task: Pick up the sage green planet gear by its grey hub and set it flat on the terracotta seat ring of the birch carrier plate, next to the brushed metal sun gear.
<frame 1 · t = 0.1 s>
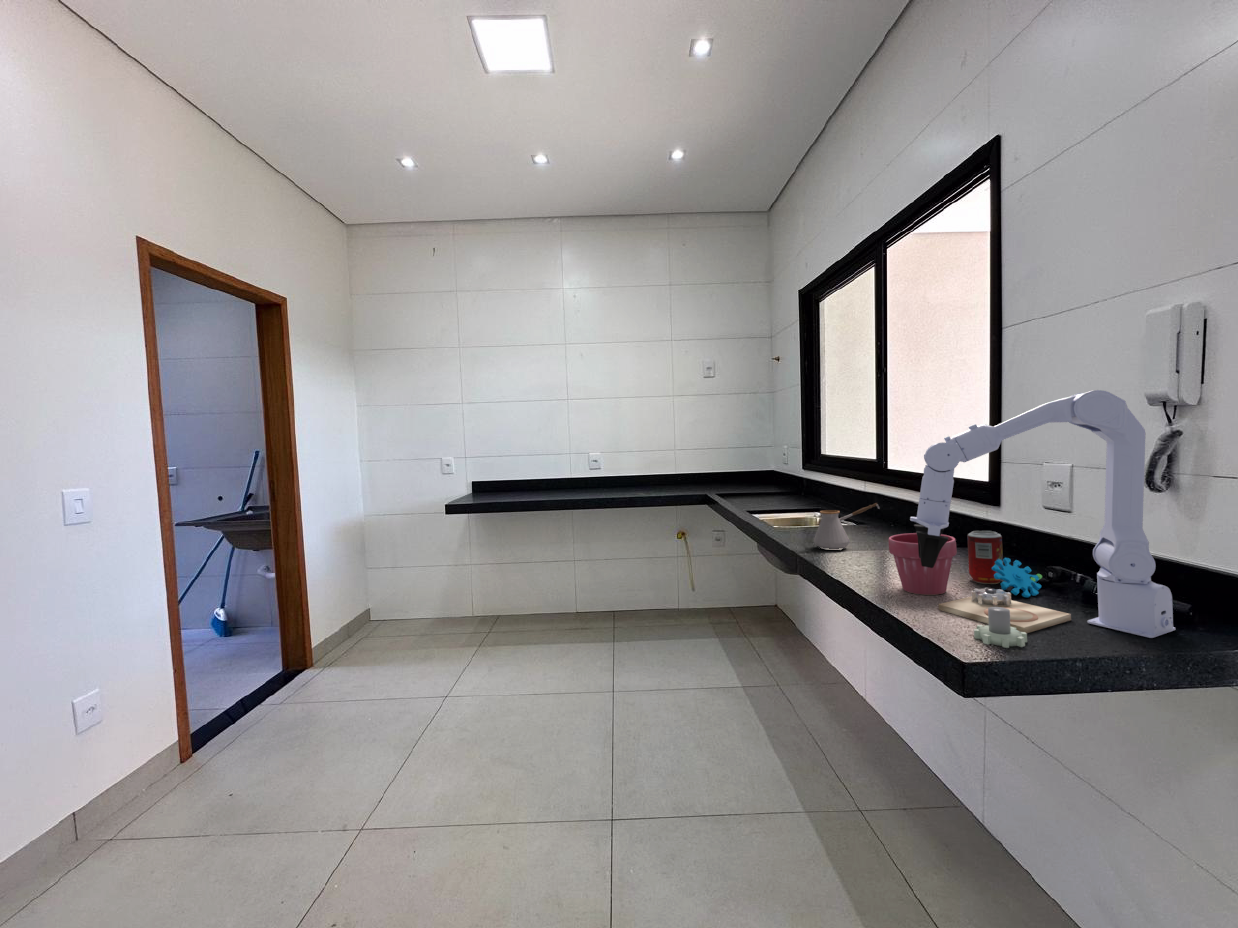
hand: (925, 562, 112), 11 cm above the worktop, tool pointing down, fingers open, 7 cm apart
coffee pot: (847, 549, 178), on the worktop
sun gear: (991, 606, 113), resting on carrier plate
soda can: (986, 581, 131), on the worktop
gear: (1018, 594, 121), on the worktop
planet gear: (1000, 639, 96), on the worktop
carrier plate: (1001, 614, 108), on the worktop
plant pot: (923, 590, 127), on the worktop
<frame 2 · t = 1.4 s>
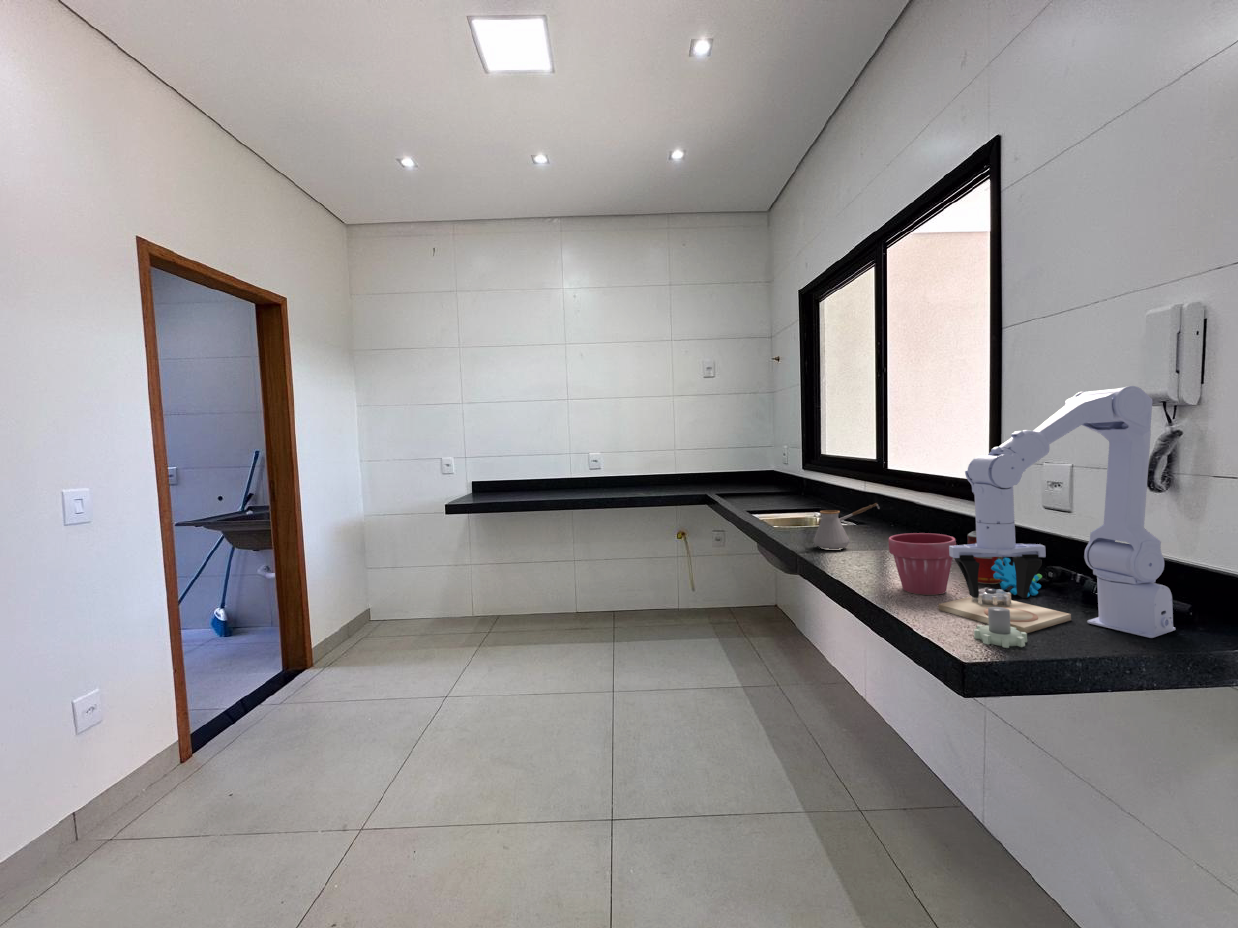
hand: (997, 596, 95), 8 cm above the worktop, tool pointing down, fingers open, 7 cm apart
nothing on the worktop moved.
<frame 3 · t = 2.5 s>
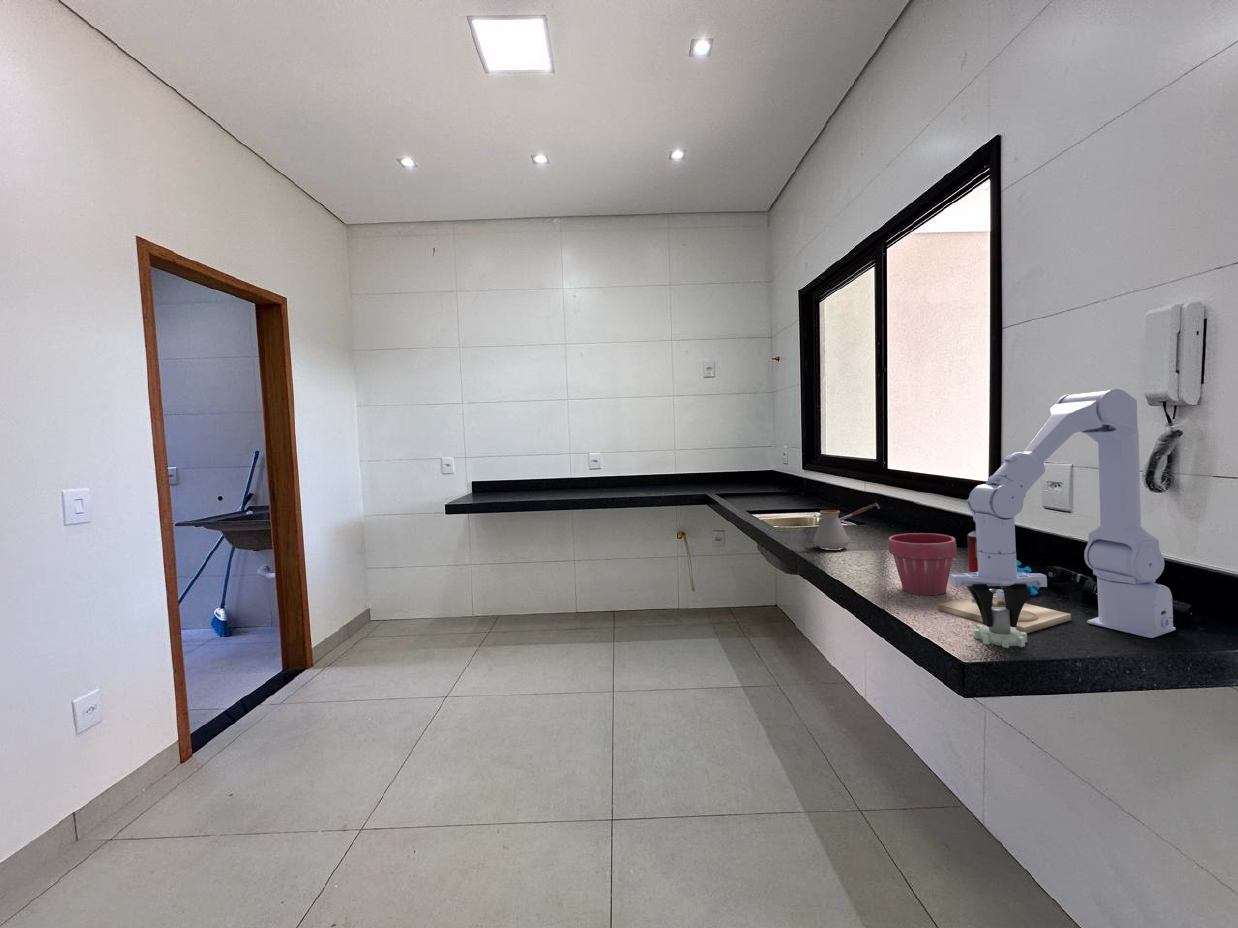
hand: (999, 625, 95), 3 cm above the worktop, tool pointing down, fingers closed on planet gear, 3 cm apart
planet gear: (1000, 639, 96), on the worktop, touching gripper
everything else where it was.
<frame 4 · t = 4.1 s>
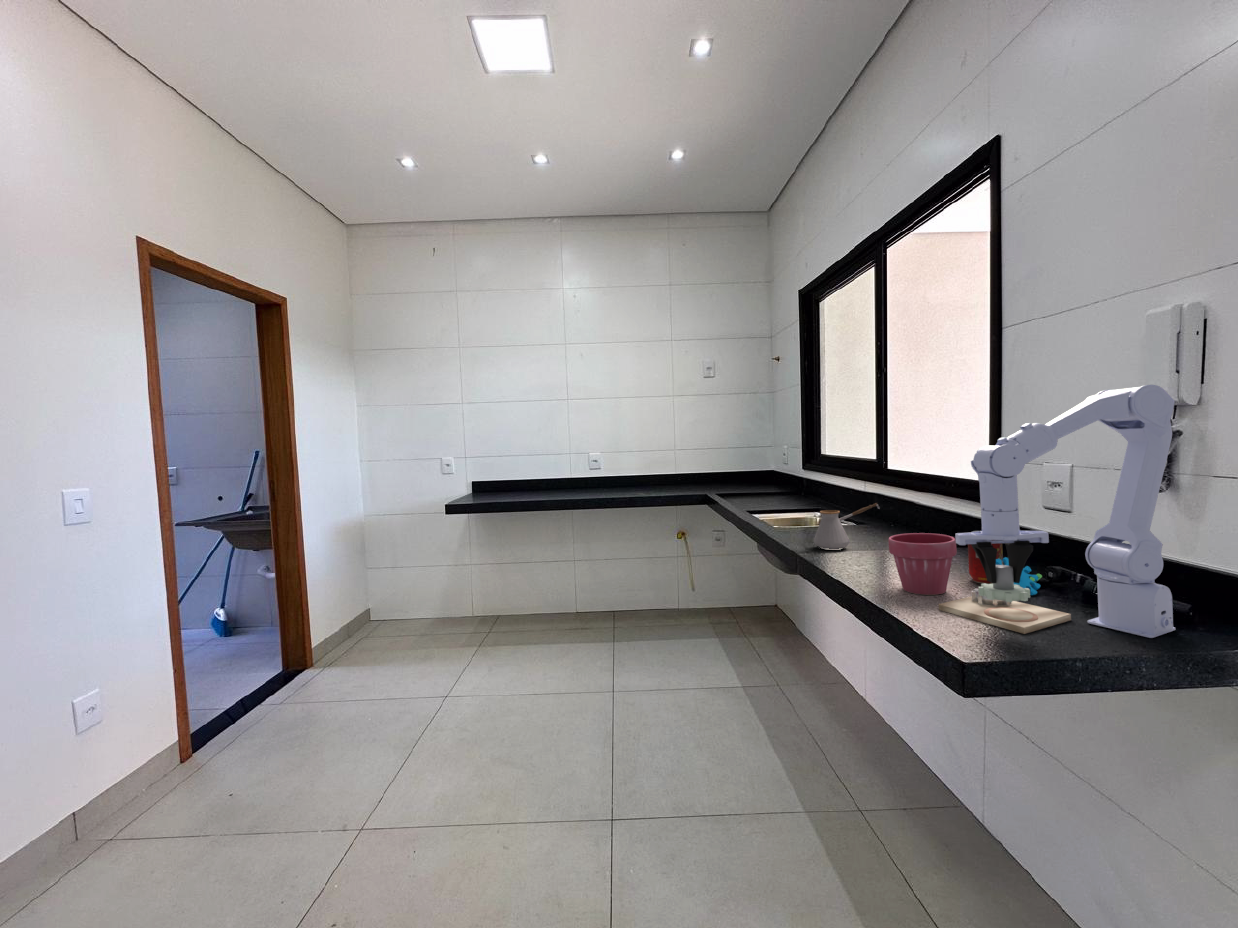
hand: (1003, 581, 99), 9 cm above the worktop, tool pointing down, fingers closed on planet gear, 3 cm apart
planet gear: (1003, 595, 99), point 7 cm above the worktop, touching gripper
everything else where it was.
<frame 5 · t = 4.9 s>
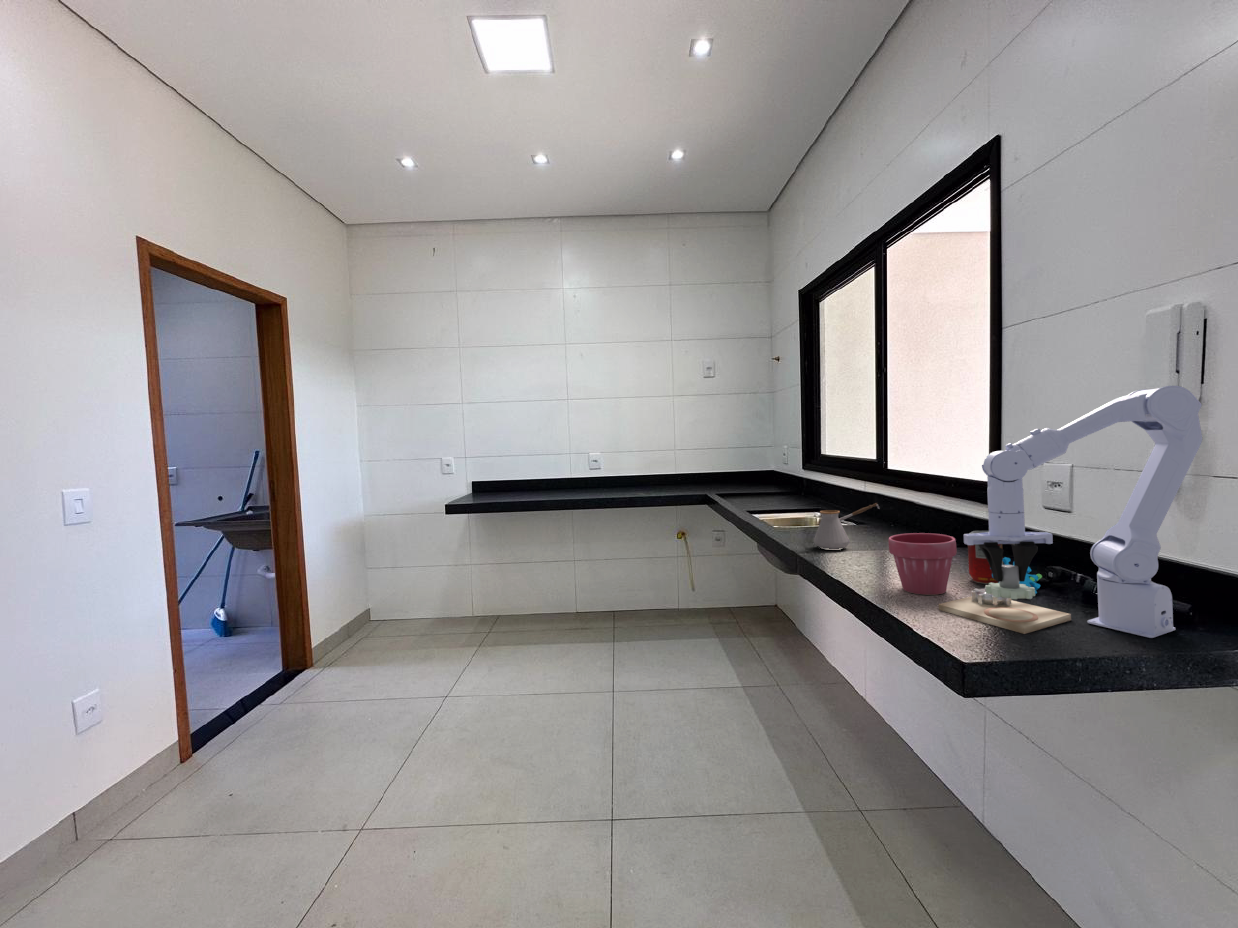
hand: (1008, 580, 104), 8 cm above the worktop, tool pointing down, fingers closed on planet gear, 3 cm apart
planet gear: (1009, 594, 104), point 5 cm above the worktop, touching gripper
everything else where it was.
when the fingers open (5 cm above the worktop, at t = 5.7 s): planet gear drops 1 cm, resting on carrier plate.
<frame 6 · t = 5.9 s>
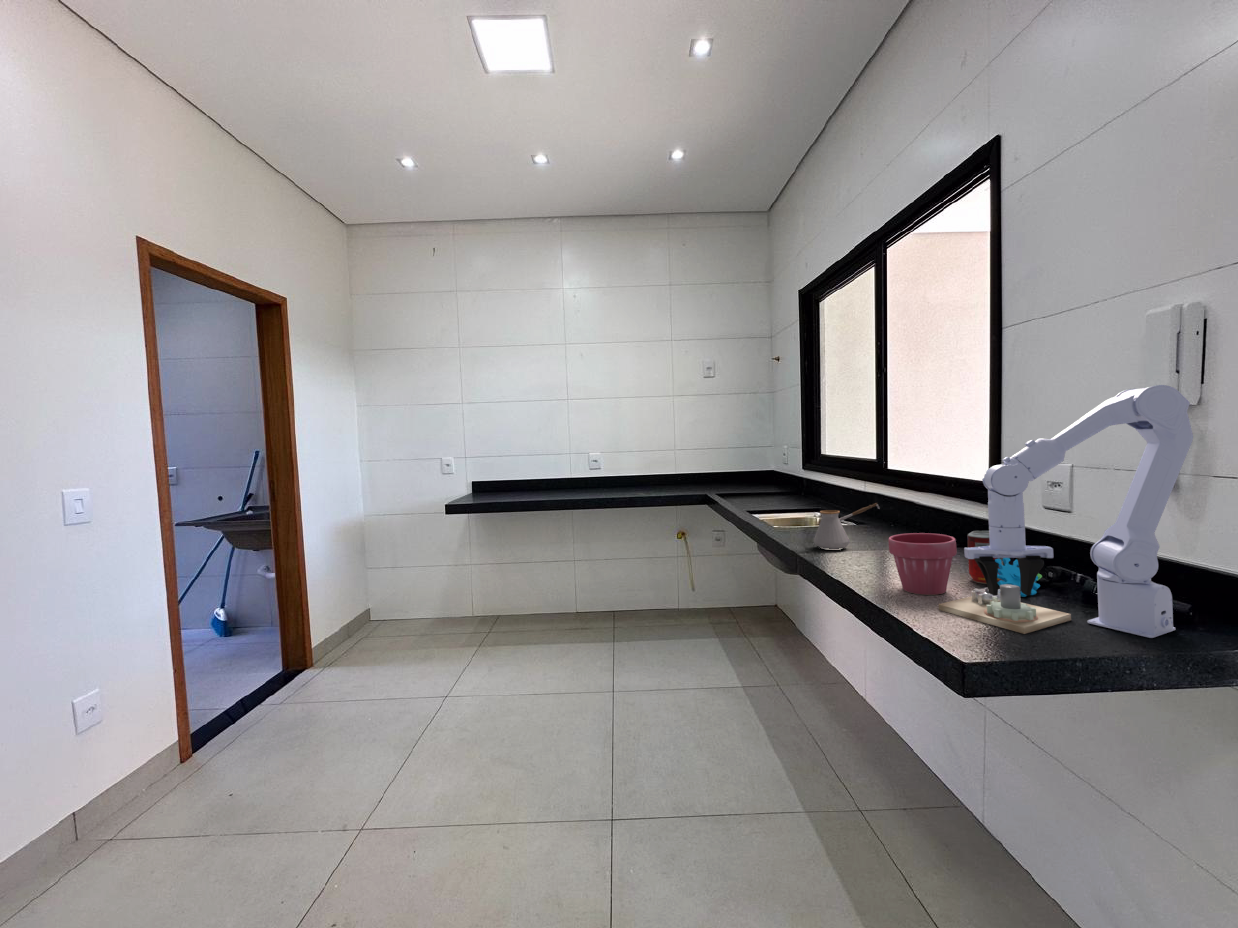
hand: (1009, 594, 104), 5 cm above the worktop, tool pointing down, fingers open, 5 cm apart
planet gear: (1011, 614, 104), point 1 cm above the worktop, touching carrier plate
everything else where it was.
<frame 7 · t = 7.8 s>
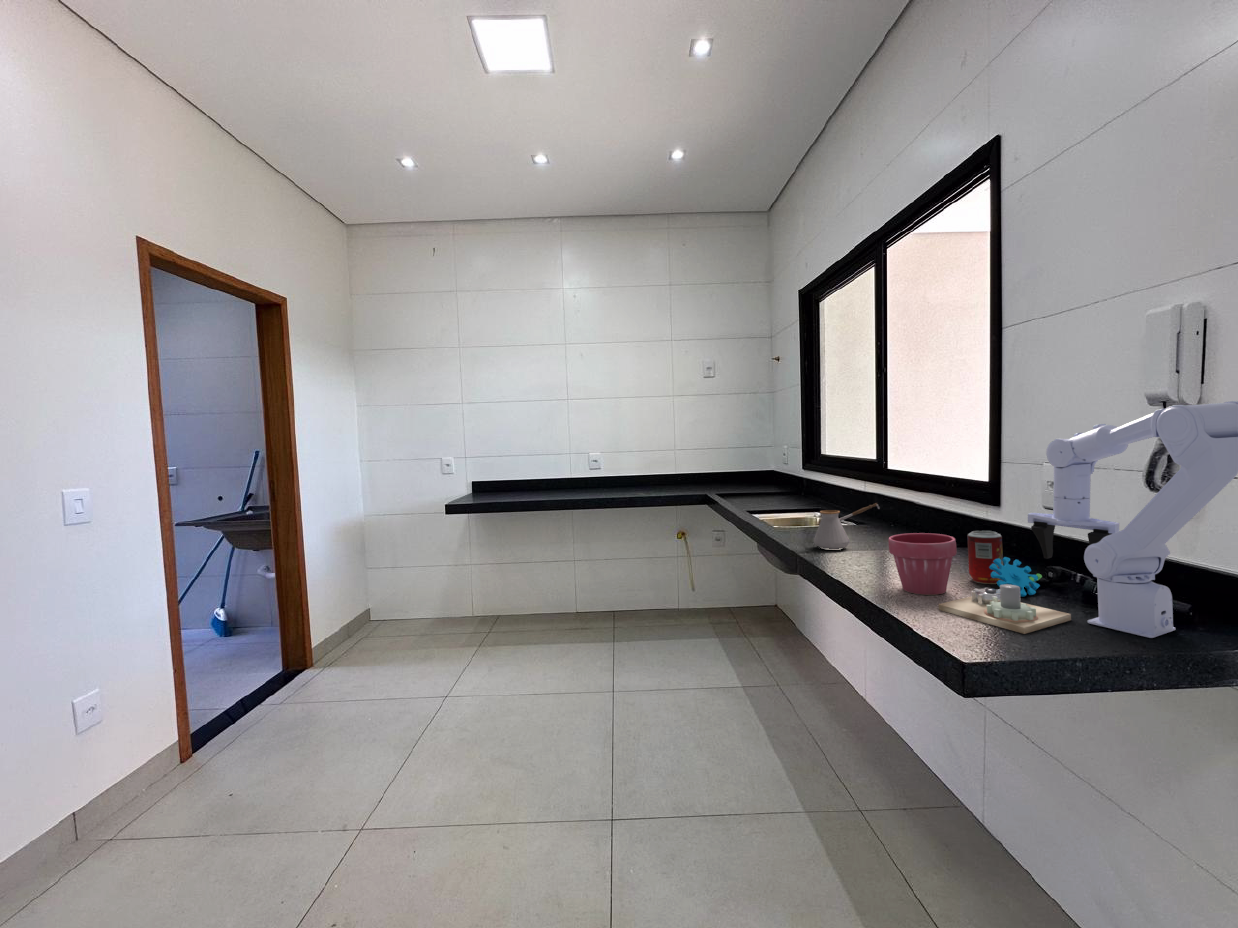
hand: (1070, 561, 109), 9 cm above the worktop, tool pointing down, fingers open, 7 cm apart
nothing on the worktop moved.
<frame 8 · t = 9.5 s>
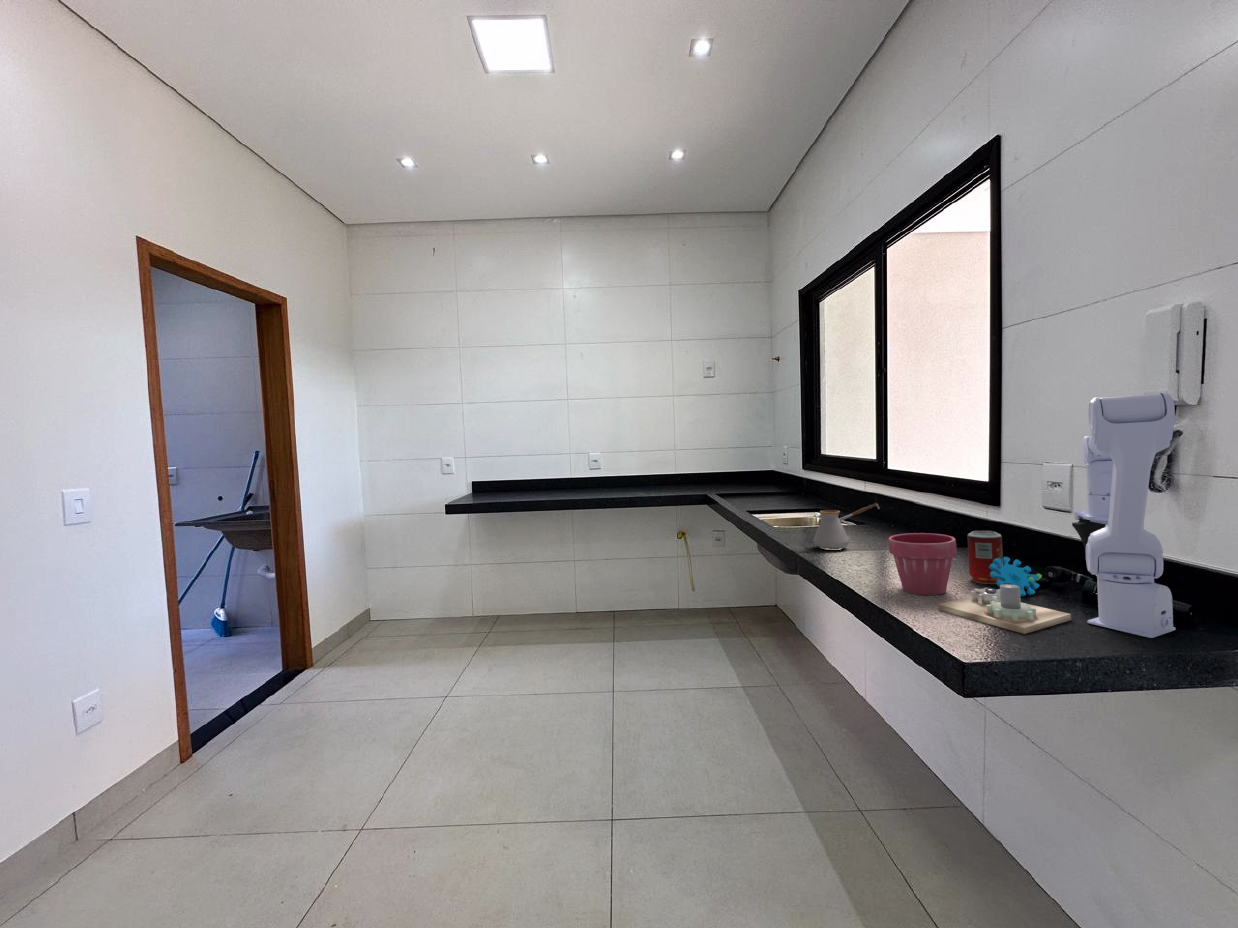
hand: (1108, 559, 109), 9 cm above the worktop, tool pointing down, fingers open, 7 cm apart
nothing on the worktop moved.
at the end: planet gear 0.2 cm from the target spot on the carrier plate, point 1.4 cm above the carrier plate's base; planet gear tilted 0°; the gripper is holding nothing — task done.
